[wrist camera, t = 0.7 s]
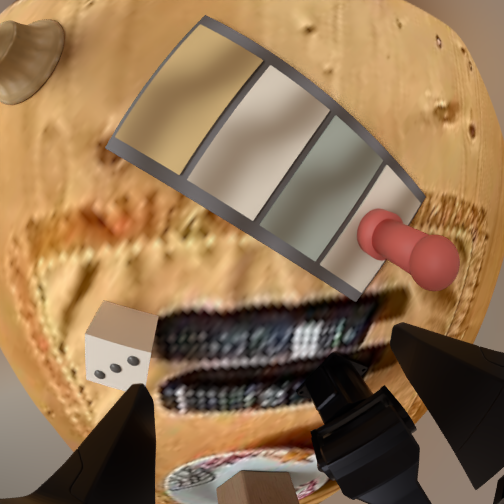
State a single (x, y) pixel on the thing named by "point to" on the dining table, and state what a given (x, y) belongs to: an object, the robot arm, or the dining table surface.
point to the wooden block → (258, 489)
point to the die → (119, 346)
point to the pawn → (409, 249)
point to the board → (265, 153)
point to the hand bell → (27, 57)
